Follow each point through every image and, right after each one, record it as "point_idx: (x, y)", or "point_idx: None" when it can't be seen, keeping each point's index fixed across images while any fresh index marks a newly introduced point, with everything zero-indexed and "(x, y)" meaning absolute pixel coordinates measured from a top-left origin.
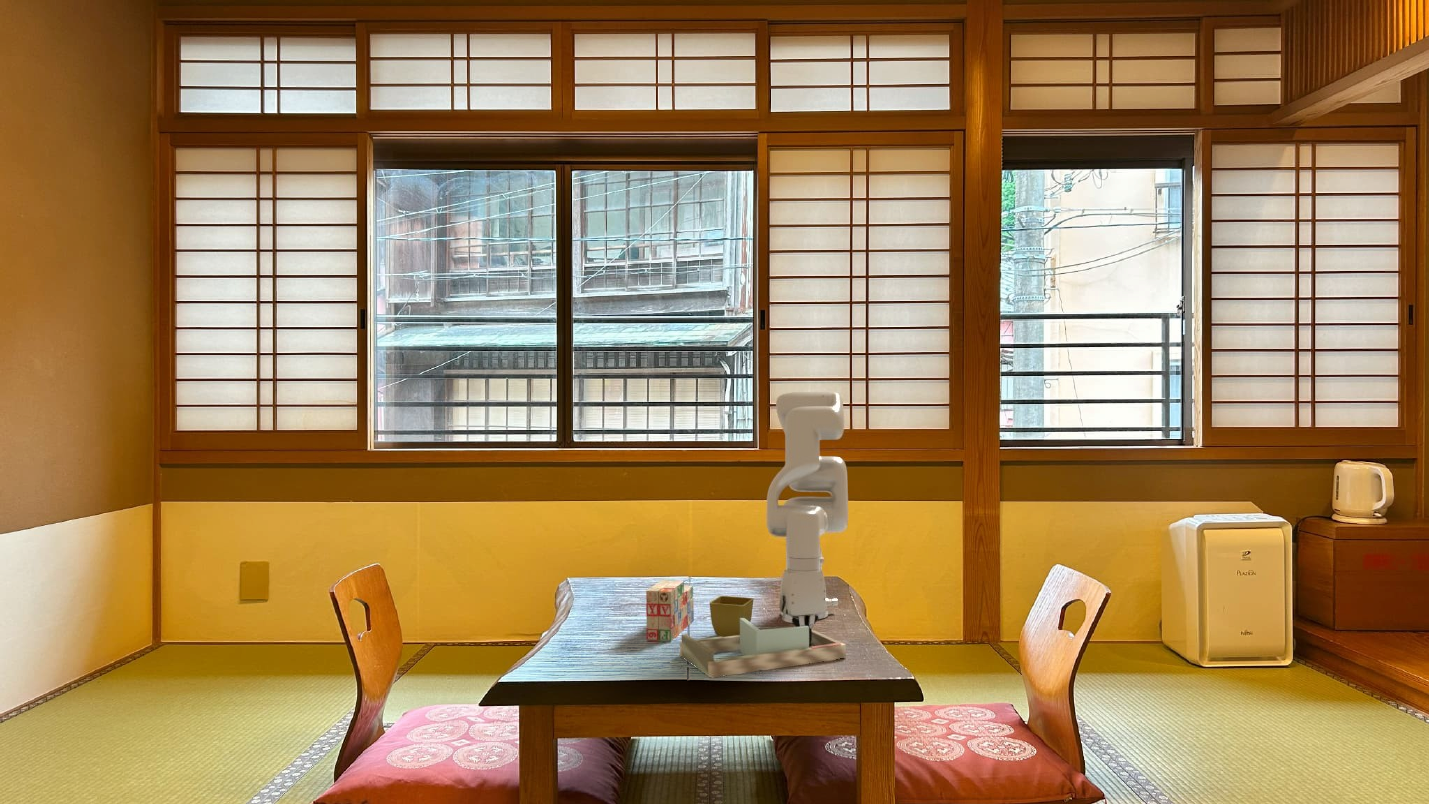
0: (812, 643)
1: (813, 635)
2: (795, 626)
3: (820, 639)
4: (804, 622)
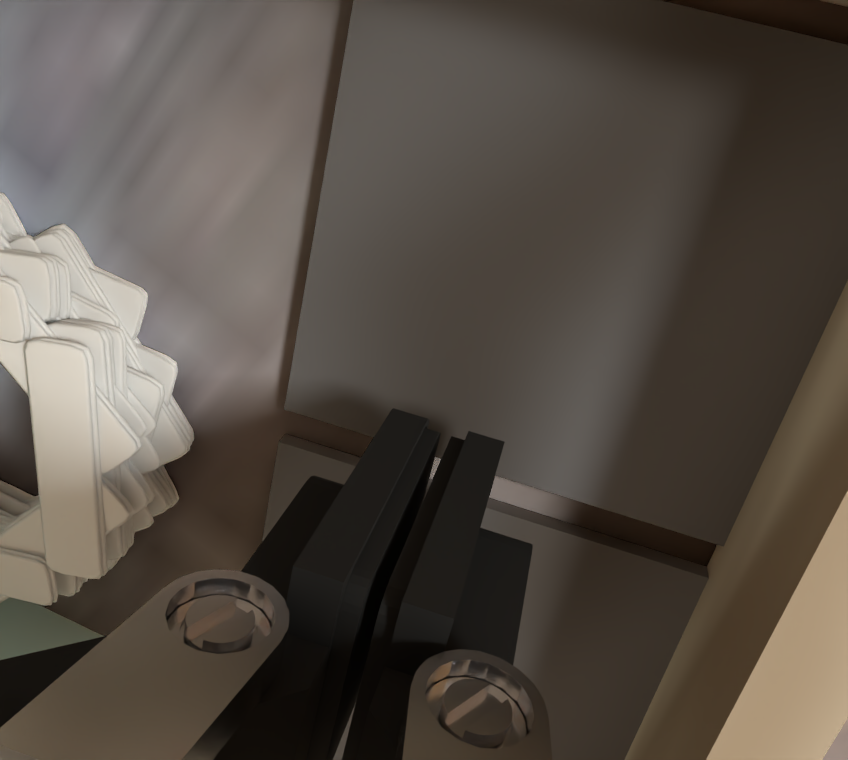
0: (822, 340)
1: (845, 437)
2: (180, 610)
3: (734, 641)
4: (395, 752)
